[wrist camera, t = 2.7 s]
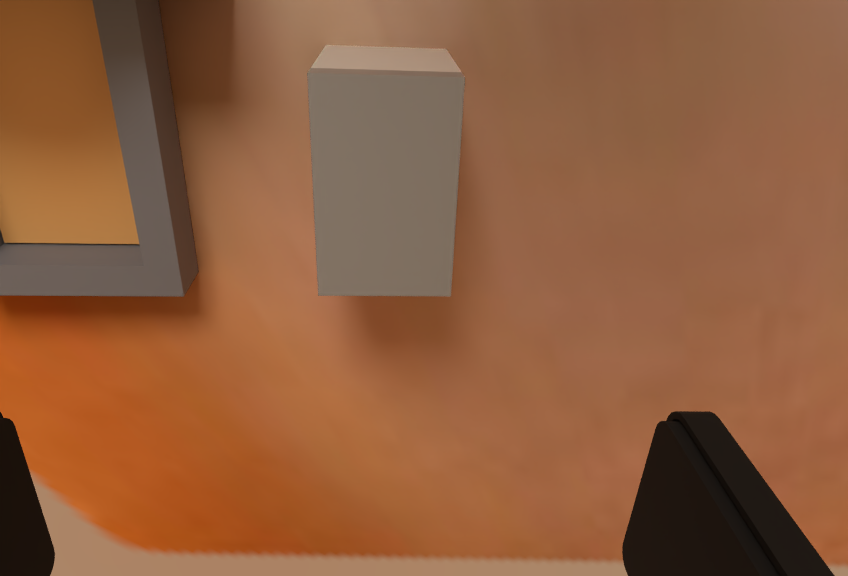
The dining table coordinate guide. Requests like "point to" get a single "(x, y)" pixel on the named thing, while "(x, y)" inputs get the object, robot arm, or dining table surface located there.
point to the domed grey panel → (90, 153)
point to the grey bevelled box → (385, 169)
